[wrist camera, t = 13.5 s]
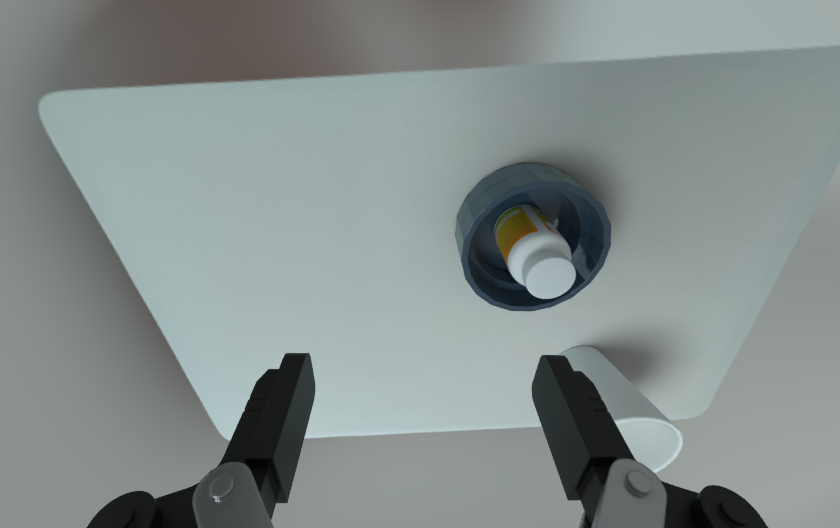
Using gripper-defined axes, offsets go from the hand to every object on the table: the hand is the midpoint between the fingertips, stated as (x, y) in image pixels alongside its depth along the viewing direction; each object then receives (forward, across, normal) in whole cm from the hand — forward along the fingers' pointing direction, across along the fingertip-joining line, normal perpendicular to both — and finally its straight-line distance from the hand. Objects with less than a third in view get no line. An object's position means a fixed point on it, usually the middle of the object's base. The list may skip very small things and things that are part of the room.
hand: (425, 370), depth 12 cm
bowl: (+25, -11, +6) cm, 28 cm away
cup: (+24, -23, +26) cm, 42 cm away
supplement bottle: (+24, -11, +6) cm, 27 cm away
